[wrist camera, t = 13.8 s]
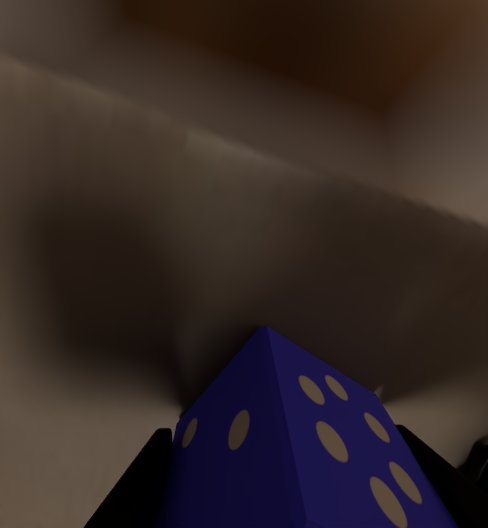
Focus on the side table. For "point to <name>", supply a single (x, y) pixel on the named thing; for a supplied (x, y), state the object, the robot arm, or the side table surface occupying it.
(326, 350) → the side table surface
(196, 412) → the die
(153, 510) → the robot arm
